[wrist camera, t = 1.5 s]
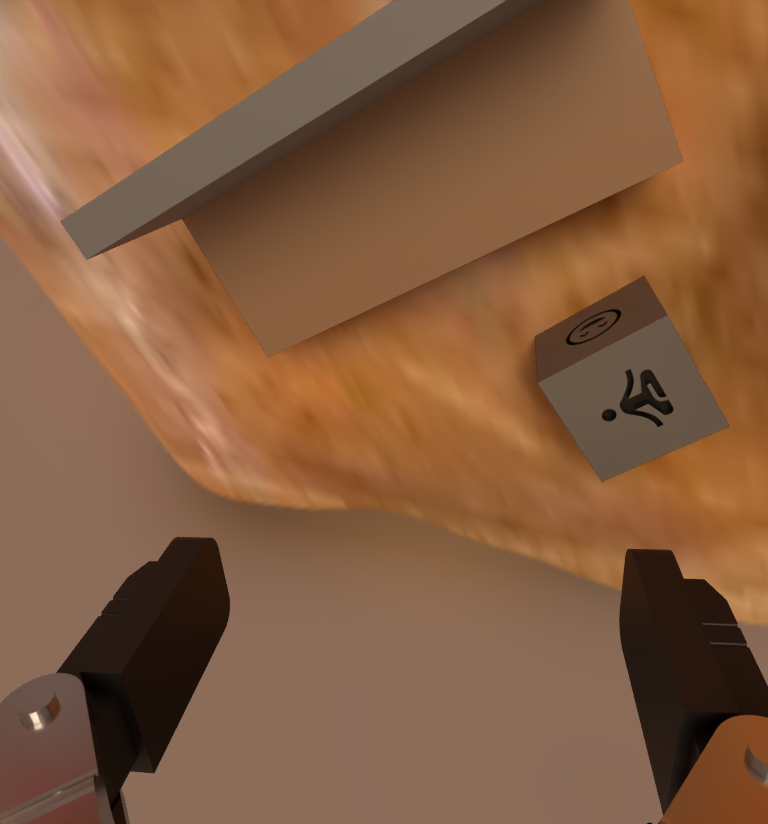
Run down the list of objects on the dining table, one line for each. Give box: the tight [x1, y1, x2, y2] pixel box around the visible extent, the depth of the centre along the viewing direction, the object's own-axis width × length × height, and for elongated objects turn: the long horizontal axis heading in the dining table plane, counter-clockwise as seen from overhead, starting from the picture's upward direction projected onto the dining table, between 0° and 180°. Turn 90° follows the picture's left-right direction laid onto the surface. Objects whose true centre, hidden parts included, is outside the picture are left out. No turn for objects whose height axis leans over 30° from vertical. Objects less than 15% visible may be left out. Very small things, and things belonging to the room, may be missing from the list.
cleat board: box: [60, 0, 683, 357], centre depth 21 cm, size 16×7×11 cm, turn 119°
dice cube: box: [535, 276, 729, 482], centre depth 26 cm, size 5×5×5 cm
